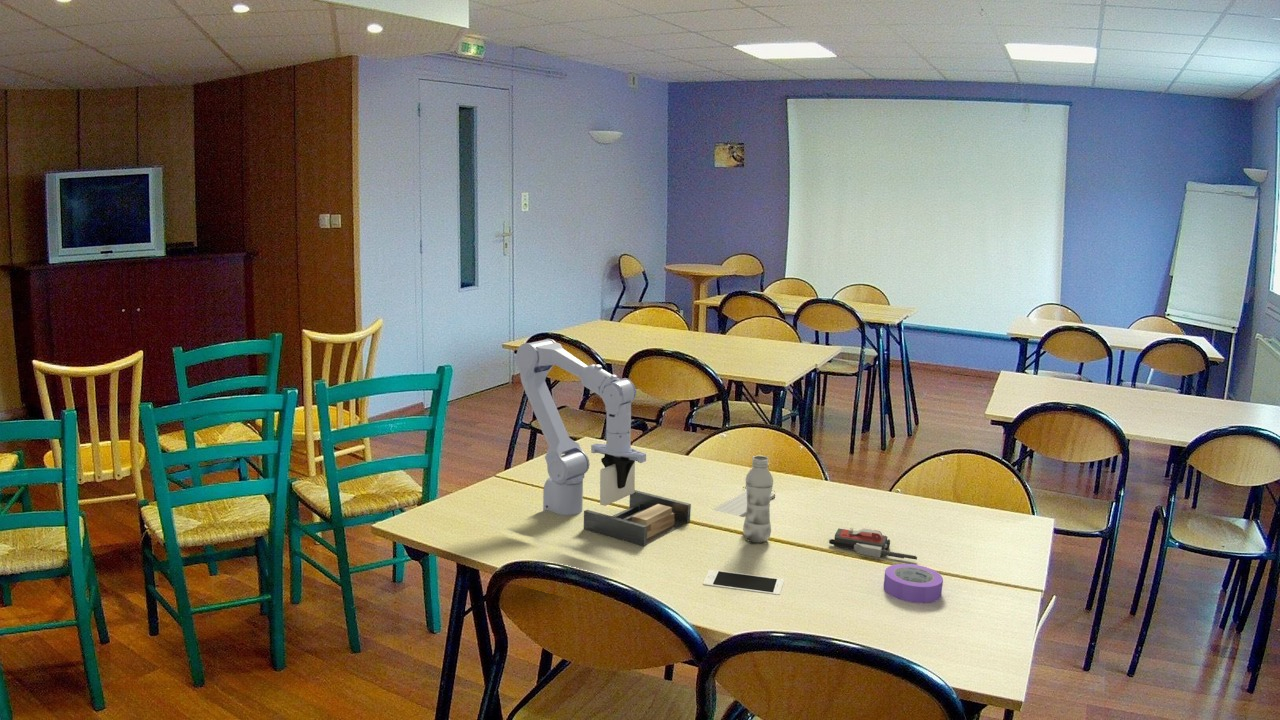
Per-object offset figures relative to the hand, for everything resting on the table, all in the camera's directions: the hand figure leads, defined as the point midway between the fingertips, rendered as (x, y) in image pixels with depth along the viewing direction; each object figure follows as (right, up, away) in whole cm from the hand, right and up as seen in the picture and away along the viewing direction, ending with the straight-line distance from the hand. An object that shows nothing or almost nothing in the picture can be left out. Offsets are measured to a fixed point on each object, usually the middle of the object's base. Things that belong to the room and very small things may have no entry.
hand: (617, 486), depth 234 cm
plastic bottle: (+32, -12, -3) cm, 35 cm away
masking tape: (+62, -18, -28) cm, 71 cm away
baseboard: (+29, -9, +18) cm, 35 cm away
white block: (0, -3, +1) cm, 3 cm away
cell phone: (+27, -17, -27) cm, 42 cm away
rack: (+5, -11, +1) cm, 12 cm away
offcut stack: (+8, -10, -2) cm, 13 cm away
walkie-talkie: (+59, -14, -7) cm, 61 cm away
